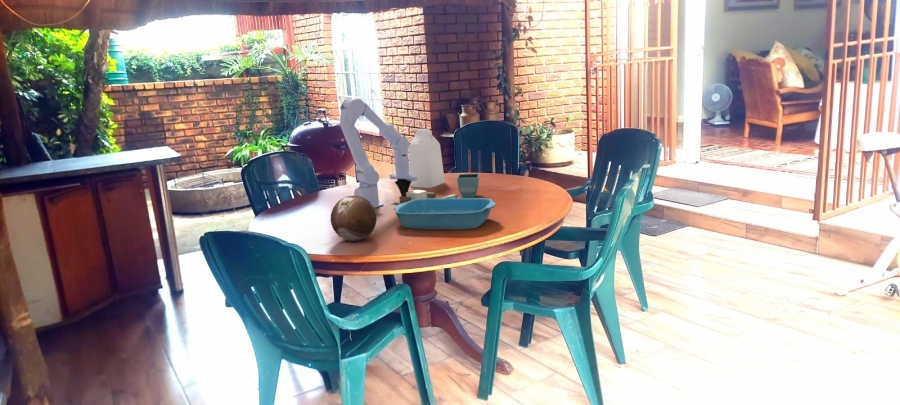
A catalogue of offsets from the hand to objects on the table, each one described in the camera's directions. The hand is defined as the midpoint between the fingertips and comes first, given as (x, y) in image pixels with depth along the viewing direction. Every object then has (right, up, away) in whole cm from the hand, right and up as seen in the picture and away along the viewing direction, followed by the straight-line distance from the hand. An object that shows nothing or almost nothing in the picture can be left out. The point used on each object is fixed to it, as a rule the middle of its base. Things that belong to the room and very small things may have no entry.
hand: (404, 196), depth 267 cm
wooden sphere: (-12, -15, -56) cm, 59 cm away
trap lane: (+10, -3, -8) cm, 13 cm away
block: (+5, -2, -4) cm, 7 cm away
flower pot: (+27, 0, -2) cm, 27 cm away
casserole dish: (+17, -10, -41) cm, 46 cm away
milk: (+8, +6, +31) cm, 33 cm away
